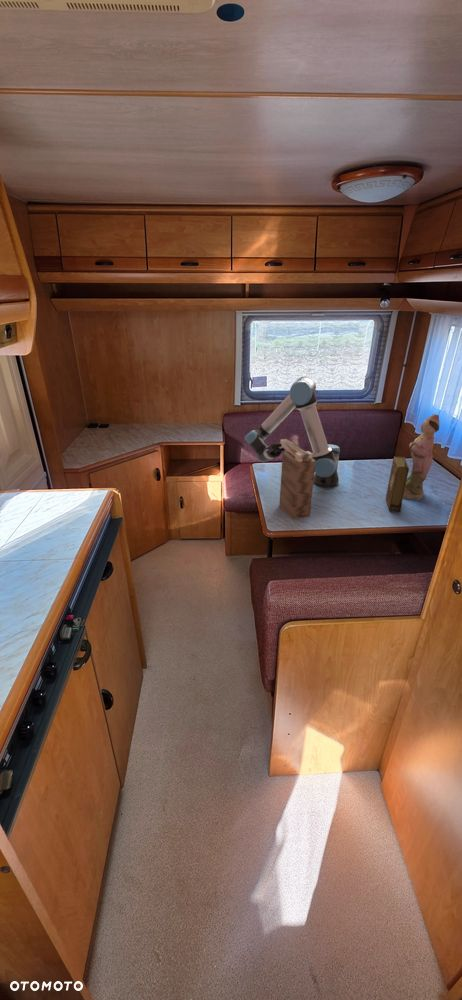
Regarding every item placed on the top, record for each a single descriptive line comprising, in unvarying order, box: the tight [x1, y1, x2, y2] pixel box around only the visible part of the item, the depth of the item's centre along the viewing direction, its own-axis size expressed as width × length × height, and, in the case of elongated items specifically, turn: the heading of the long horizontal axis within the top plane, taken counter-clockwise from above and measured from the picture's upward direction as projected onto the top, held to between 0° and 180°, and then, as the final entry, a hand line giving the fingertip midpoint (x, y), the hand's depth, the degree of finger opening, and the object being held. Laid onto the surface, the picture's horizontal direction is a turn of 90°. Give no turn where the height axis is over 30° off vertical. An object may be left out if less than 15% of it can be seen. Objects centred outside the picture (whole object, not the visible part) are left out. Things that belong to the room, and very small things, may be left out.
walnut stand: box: [278, 451, 316, 520], centre depth 216 cm, size 10×15×30 cm, turn 20°
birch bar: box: [279, 438, 313, 462], centre depth 213 cm, size 7×24×3 cm, turn 20°
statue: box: [403, 414, 441, 500], centre depth 233 cm, size 16×17×45 cm
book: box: [385, 455, 410, 513], centre depth 224 cm, size 16×6×25 cm, turn 168°
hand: (290, 442), depth 215 cm, fingers open, 6 cm apart
